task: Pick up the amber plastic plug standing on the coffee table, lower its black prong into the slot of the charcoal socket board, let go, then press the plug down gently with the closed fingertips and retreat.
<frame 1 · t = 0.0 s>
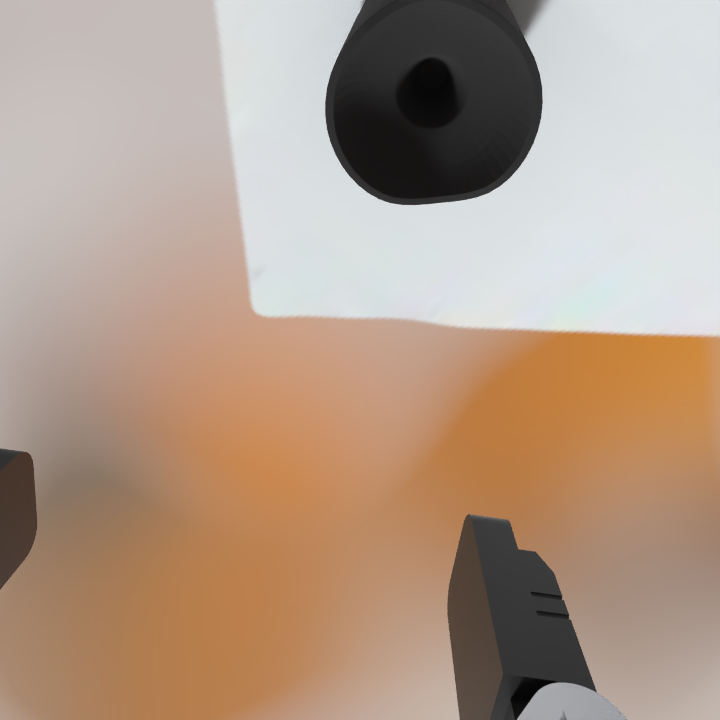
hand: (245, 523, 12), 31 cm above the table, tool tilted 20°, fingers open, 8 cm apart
pen holder: (432, 45, 35), on the table
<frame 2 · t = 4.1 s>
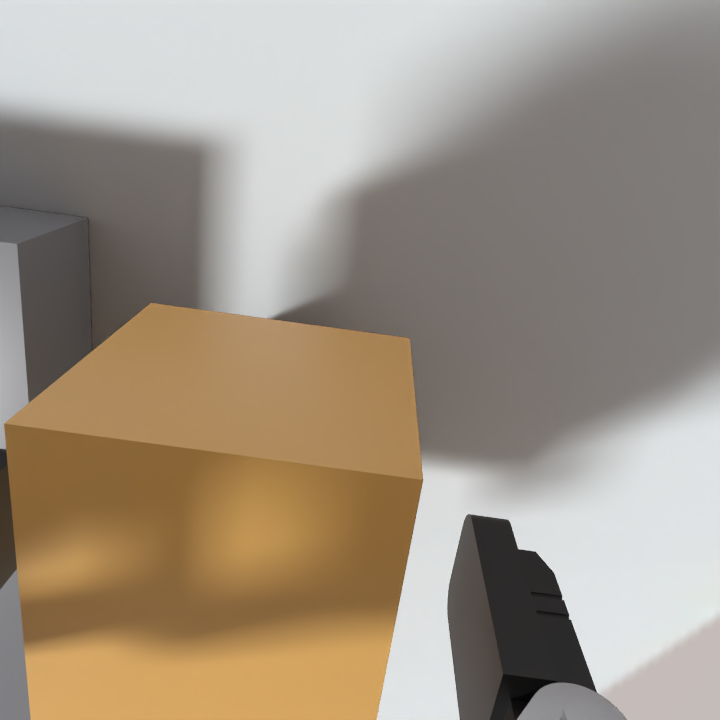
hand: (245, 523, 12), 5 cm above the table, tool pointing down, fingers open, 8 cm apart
plug: (288, 402, 16), on the table
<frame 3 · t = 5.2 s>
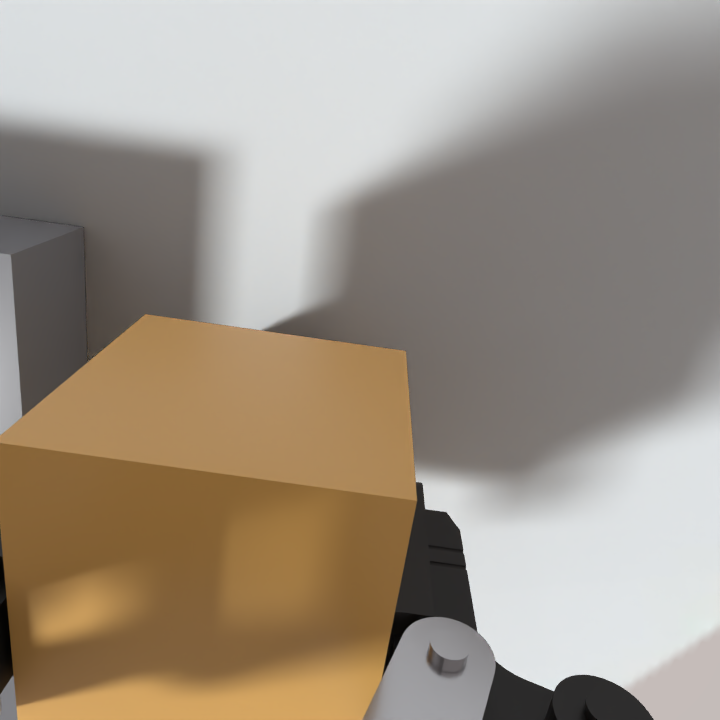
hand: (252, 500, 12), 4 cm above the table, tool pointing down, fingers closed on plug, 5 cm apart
plug: (284, 412, 16), on the table, touching gripper
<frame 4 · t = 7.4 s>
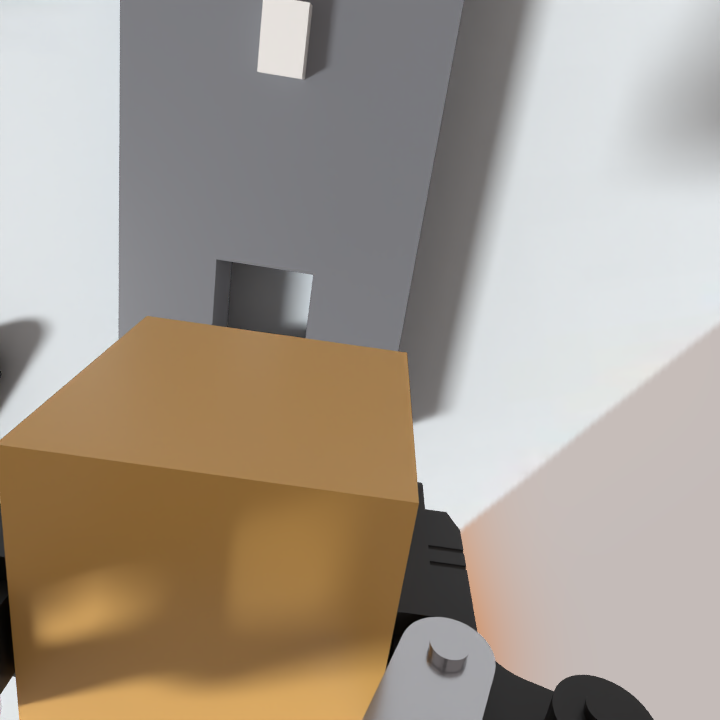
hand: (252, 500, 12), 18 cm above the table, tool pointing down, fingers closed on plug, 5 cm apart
plug: (285, 413, 16), point 14 cm above the table, touching gripper
socket board: (282, 197, 28), on the table
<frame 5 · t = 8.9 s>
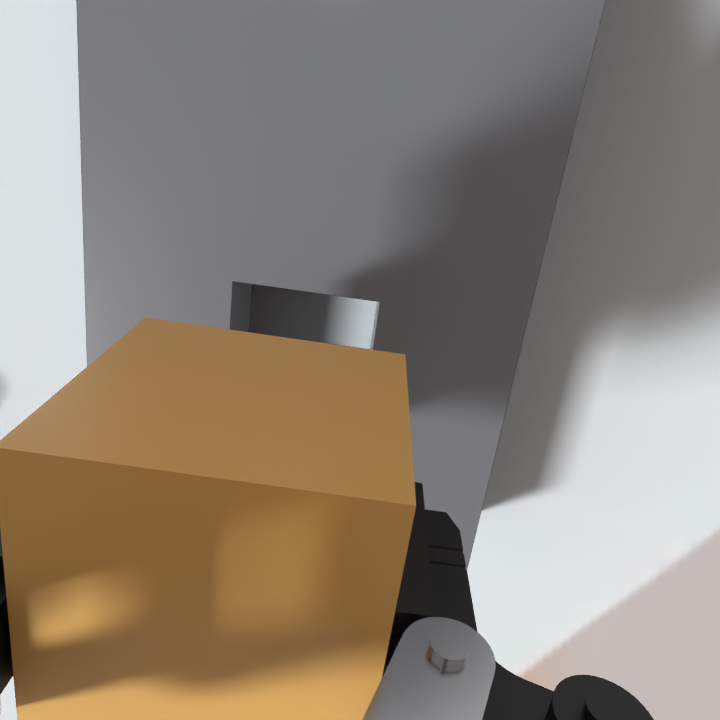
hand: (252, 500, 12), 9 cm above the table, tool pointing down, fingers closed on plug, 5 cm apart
plug: (284, 415, 16), point 5 cm above the table, touching gripper
socket board: (326, 187, 19), on the table
when the fingers open (5 cm above the table, at t = 10.9 s): plug stays where it is, resting on socket board.
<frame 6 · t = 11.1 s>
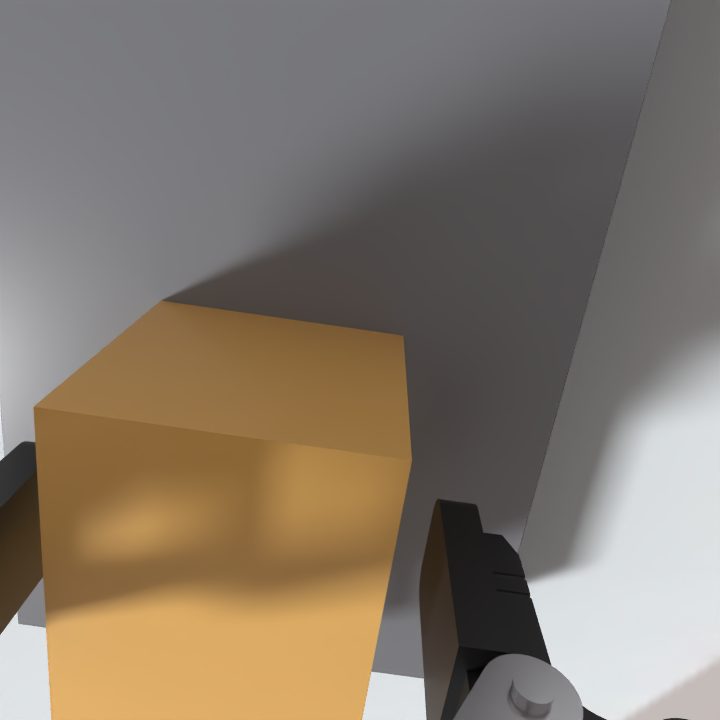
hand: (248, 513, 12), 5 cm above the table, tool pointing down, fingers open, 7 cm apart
plug: (288, 397, 17), resting on socket board
socket board: (308, 207, 15), on the table
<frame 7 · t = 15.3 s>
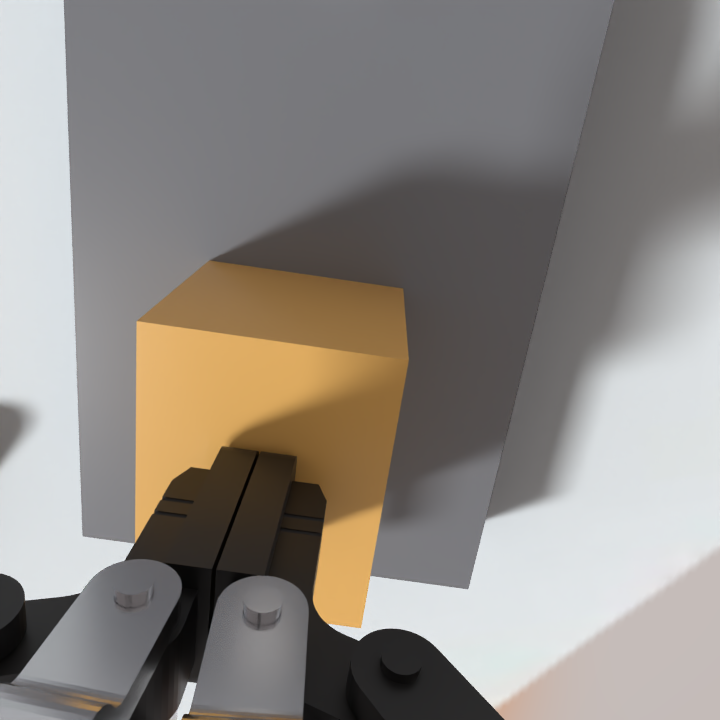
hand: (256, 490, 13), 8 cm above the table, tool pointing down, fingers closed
plug: (307, 349, 20), resting on socket board, touching gripper
socket board: (325, 188, 18), on the table
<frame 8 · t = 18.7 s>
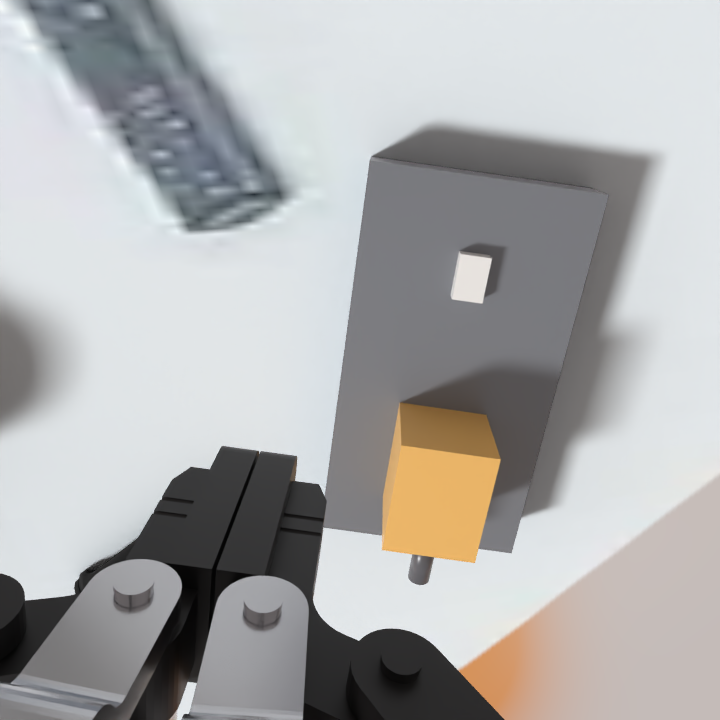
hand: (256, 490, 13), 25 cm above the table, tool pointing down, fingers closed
plug: (429, 433, 40), resting on socket board
electric trimmer: (163, 532, 44), on the table
socket board: (444, 359, 38), on the table
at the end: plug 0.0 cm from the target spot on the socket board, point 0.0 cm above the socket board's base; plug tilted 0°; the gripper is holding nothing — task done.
